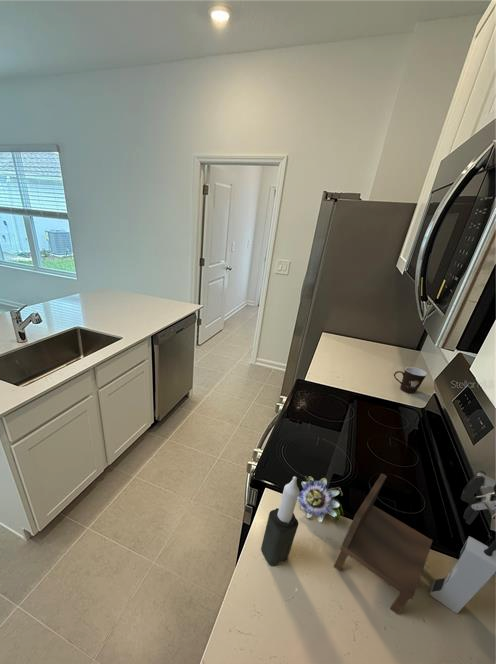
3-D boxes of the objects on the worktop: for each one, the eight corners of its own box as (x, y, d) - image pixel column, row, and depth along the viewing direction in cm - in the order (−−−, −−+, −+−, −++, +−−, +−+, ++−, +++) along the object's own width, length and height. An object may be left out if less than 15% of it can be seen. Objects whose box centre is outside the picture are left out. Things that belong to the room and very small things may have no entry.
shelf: (358, 522, 80) (381, 473, 71) (418, 561, 72) (453, 510, 63) (332, 566, 70) (355, 514, 61) (398, 616, 61) (436, 565, 53)
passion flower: (304, 529, 83) (284, 498, 80) (315, 497, 91) (297, 468, 87) (345, 535, 75) (325, 501, 72) (354, 499, 83) (335, 467, 79)
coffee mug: (420, 390, 145) (428, 371, 140) (415, 397, 139) (424, 377, 134) (393, 381, 151) (400, 363, 146) (388, 387, 145) (395, 368, 140)
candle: (270, 567, 69) (291, 490, 56) (259, 547, 73) (276, 470, 60) (289, 560, 70) (314, 483, 58) (277, 540, 74) (298, 464, 62)
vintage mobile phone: (433, 582, 68) (491, 506, 55) (460, 600, 65) (527, 525, 52) (428, 595, 65) (488, 519, 53) (456, 614, 62) (526, 539, 50)
